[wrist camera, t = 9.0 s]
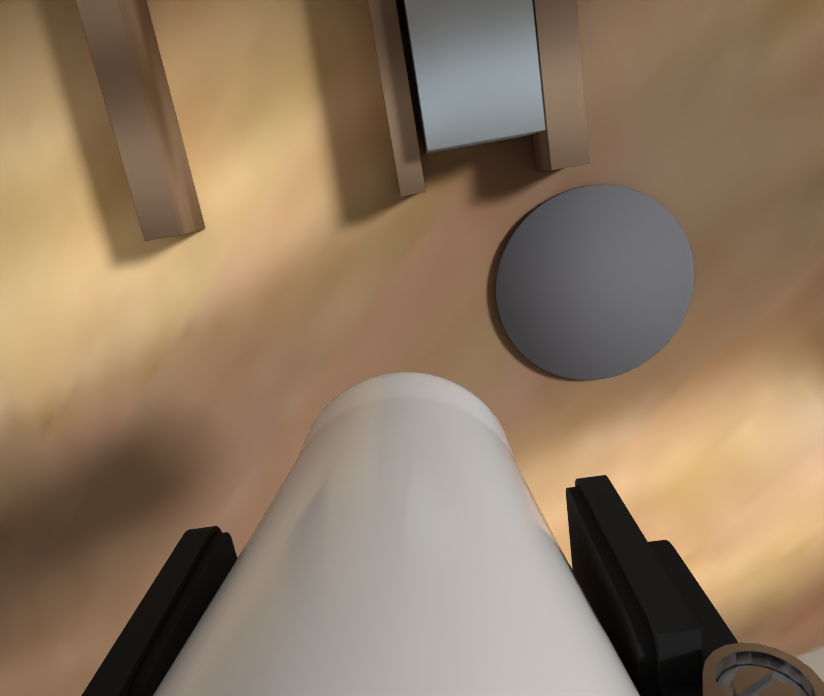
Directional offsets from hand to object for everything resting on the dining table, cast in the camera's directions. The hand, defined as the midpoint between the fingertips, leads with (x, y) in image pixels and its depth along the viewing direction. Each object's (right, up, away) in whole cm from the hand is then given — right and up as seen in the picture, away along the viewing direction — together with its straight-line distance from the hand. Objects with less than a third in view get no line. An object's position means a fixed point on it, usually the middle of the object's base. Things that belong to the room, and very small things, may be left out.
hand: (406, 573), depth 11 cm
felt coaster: (+8, +7, +17) cm, 20 cm away
